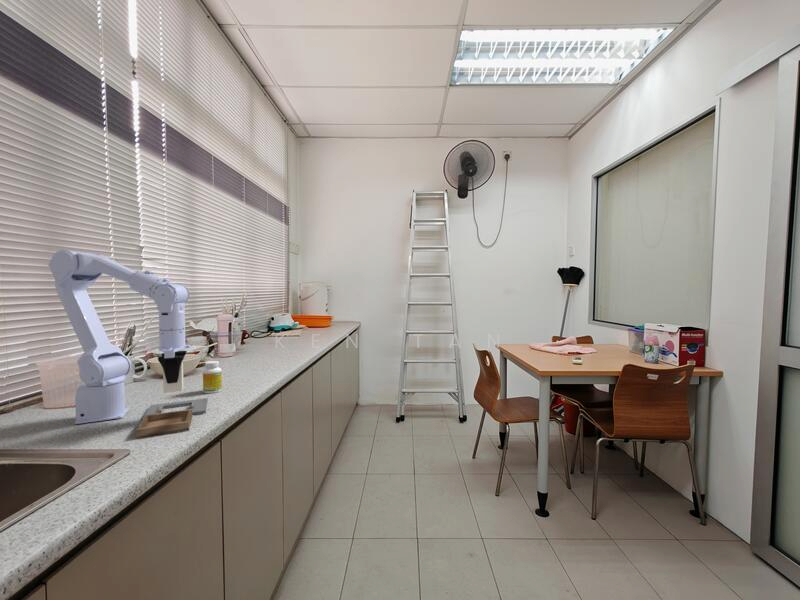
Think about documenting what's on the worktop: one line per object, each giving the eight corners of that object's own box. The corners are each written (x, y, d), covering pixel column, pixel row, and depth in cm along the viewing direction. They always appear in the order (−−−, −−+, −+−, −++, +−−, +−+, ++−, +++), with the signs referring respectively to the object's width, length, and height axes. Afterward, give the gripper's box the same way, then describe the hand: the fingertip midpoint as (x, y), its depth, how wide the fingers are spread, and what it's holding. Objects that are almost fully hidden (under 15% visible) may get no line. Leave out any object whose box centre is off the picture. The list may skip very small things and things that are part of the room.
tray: (136, 438, 77) (136, 429, 77) (145, 423, 86) (145, 415, 86) (188, 430, 81) (188, 421, 81) (192, 416, 90) (192, 408, 90)
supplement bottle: (216, 393, 110) (215, 363, 110) (199, 393, 110) (199, 363, 110) (224, 388, 116) (224, 360, 115) (209, 388, 116) (208, 360, 115)
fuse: (163, 392, 88) (162, 361, 87) (165, 389, 91) (165, 359, 91) (182, 390, 89) (181, 360, 89) (183, 387, 93) (182, 357, 93)
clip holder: (141, 422, 86) (141, 416, 86) (151, 407, 97) (150, 402, 97) (205, 413, 92) (205, 407, 92) (207, 400, 103) (207, 395, 103)
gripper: (187, 331, 85) (189, 385, 86) (192, 326, 98) (193, 373, 98) (153, 333, 82) (154, 389, 82) (162, 327, 95) (163, 376, 95)
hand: (173, 380), depth 90 cm, fingers closed on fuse, 4 cm apart
